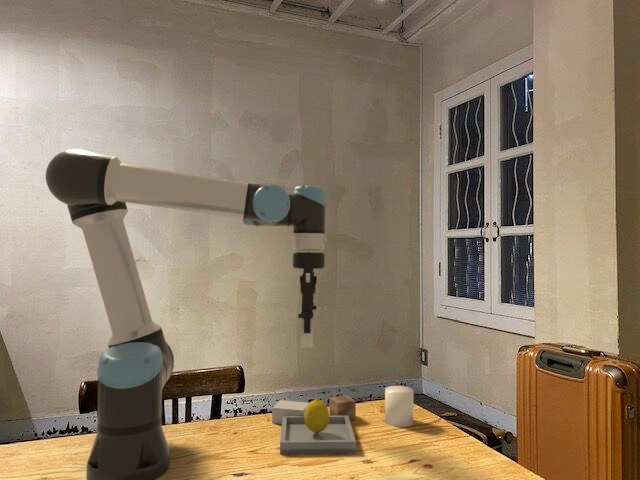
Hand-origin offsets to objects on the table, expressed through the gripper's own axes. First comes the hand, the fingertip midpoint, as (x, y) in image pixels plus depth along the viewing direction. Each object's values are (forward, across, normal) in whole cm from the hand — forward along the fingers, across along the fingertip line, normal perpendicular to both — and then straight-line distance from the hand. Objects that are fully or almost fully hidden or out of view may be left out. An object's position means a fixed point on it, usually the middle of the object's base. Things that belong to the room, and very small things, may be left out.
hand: (307, 341), depth 113 cm
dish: (+21, -4, -2) cm, 22 cm away
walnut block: (+21, +9, -9) cm, 25 cm away
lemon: (+20, -4, -2) cm, 21 cm away
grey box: (+22, +8, +4) cm, 23 cm away
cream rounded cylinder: (+21, +7, -23) cm, 32 cm away
